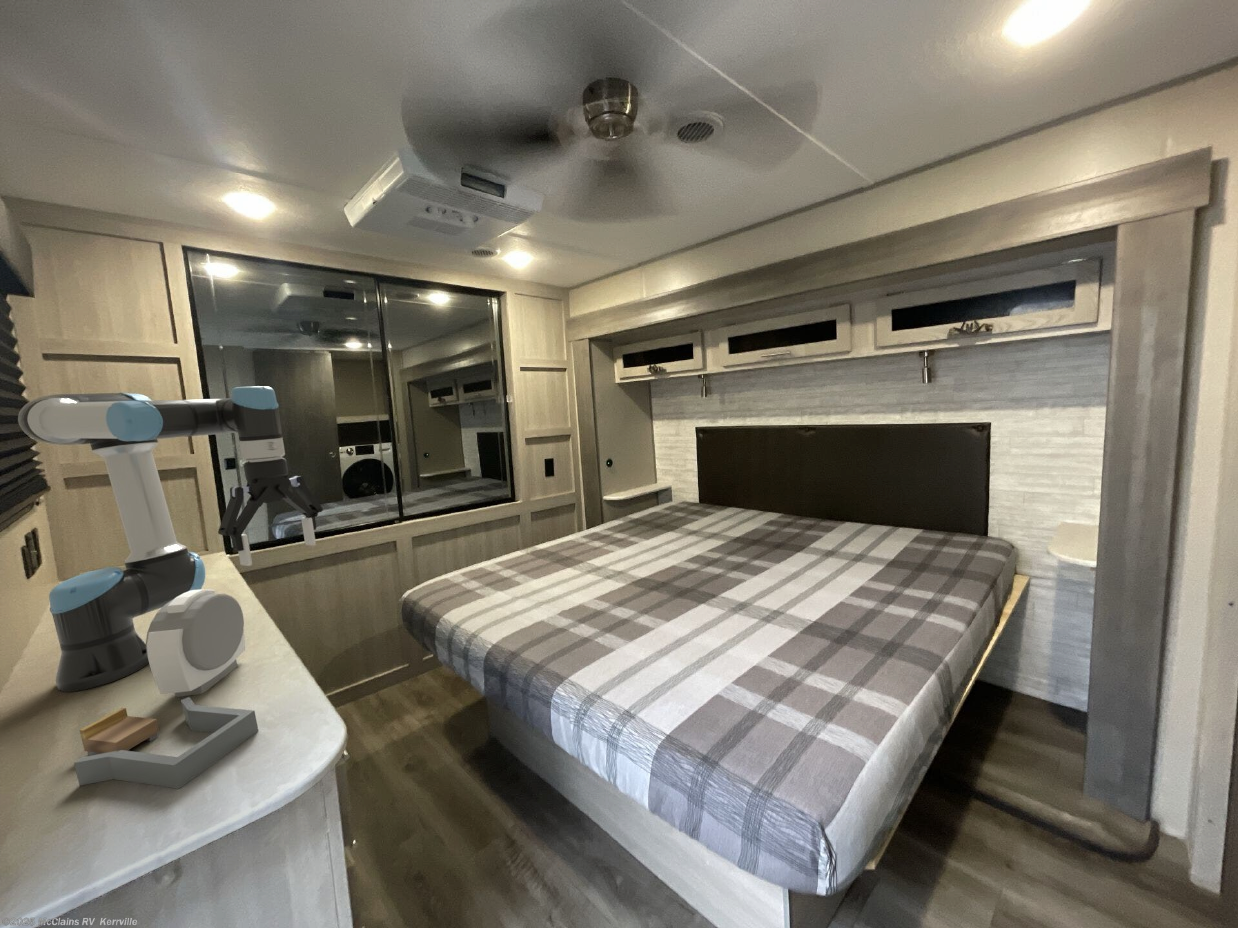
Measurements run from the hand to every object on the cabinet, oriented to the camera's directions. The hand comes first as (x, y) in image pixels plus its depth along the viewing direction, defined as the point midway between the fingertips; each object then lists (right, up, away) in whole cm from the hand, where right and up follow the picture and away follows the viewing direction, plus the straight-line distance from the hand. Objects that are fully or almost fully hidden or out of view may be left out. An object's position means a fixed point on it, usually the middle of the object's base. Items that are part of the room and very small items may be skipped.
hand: (280, 554), depth 106 cm
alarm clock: (-15, -28, -1) cm, 31 cm away
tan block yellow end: (-13, -30, -21) cm, 39 cm away
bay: (-1, -29, -24) cm, 38 cm away
